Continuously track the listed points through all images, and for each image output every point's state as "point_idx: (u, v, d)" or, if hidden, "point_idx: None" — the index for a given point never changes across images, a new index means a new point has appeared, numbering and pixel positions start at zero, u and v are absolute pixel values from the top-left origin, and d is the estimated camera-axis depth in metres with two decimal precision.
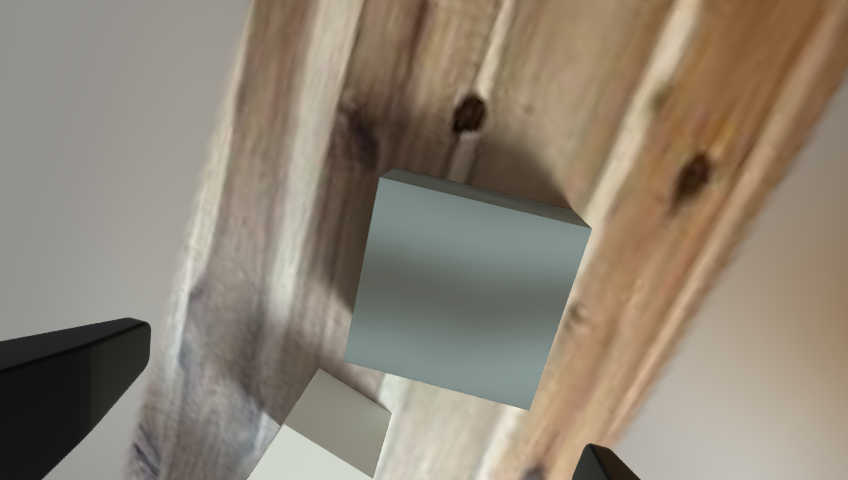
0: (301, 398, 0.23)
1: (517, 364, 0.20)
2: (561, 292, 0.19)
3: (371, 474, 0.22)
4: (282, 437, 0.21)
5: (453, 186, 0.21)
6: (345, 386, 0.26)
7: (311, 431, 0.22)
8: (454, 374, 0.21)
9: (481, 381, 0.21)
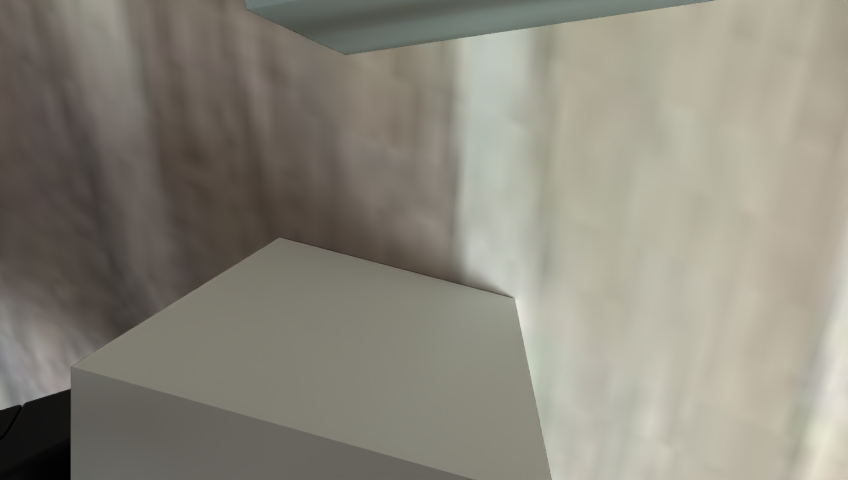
0: (198, 291, 0.07)
1: None
2: None
3: None
4: (97, 430, 0.05)
5: None
6: (362, 263, 0.09)
7: (223, 374, 0.05)
8: None
9: None
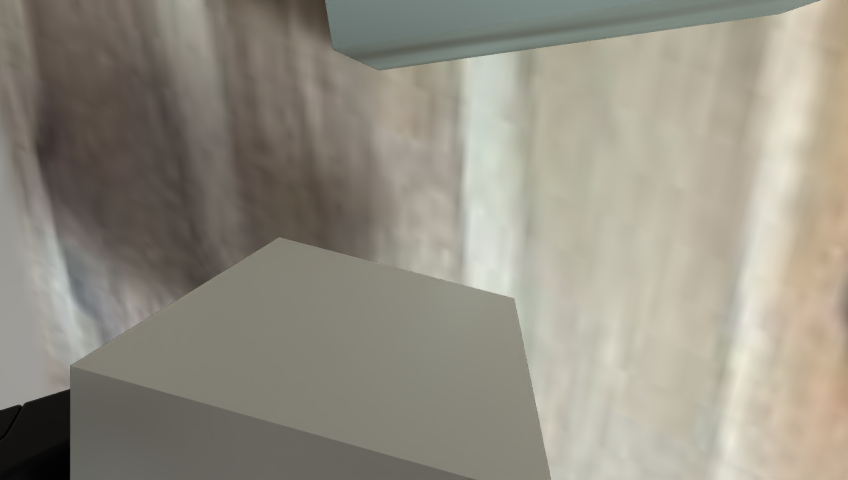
0: (198, 290, 0.07)
1: None
2: None
3: None
4: (97, 430, 0.05)
5: None
6: (362, 263, 0.09)
7: (223, 374, 0.05)
8: None
9: None
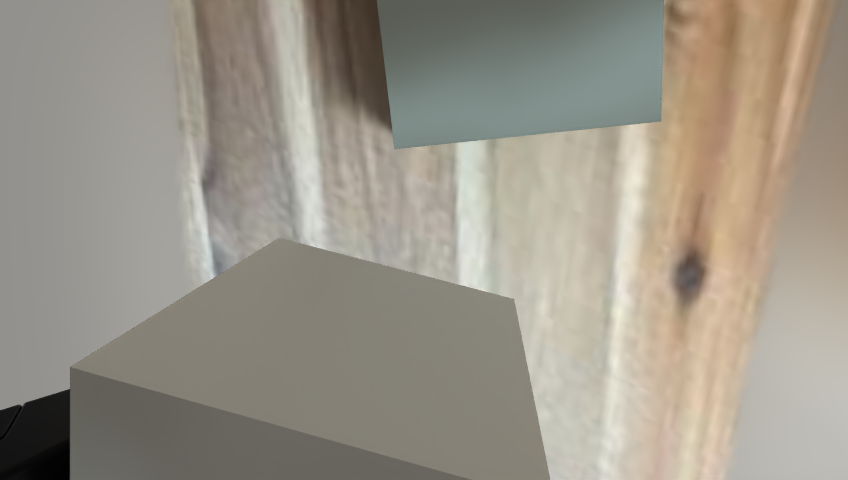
0: (197, 291, 0.07)
1: (624, 56, 0.14)
2: None
3: None
4: (96, 432, 0.05)
5: None
6: (362, 264, 0.09)
7: (222, 375, 0.05)
8: (542, 108, 0.15)
9: (582, 103, 0.15)
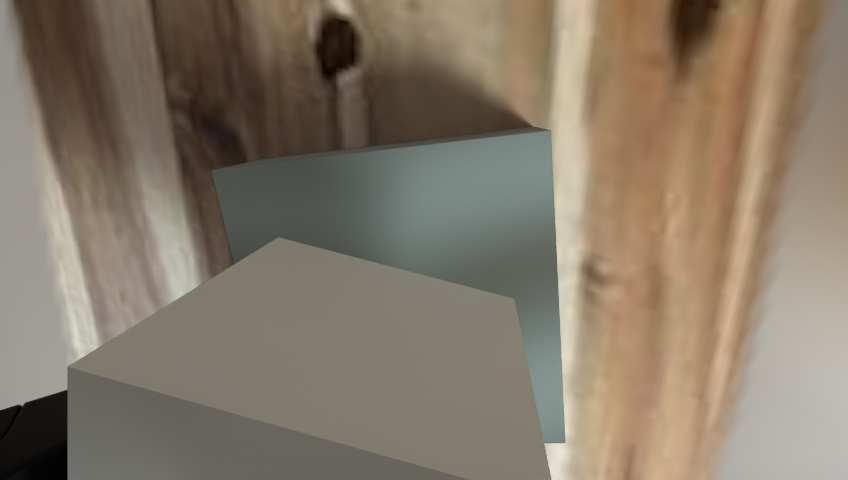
0: (196, 291, 0.06)
1: None
2: (542, 248, 0.12)
3: None
4: (95, 432, 0.05)
5: (342, 150, 0.14)
6: (362, 263, 0.09)
7: (221, 375, 0.05)
8: None
9: None
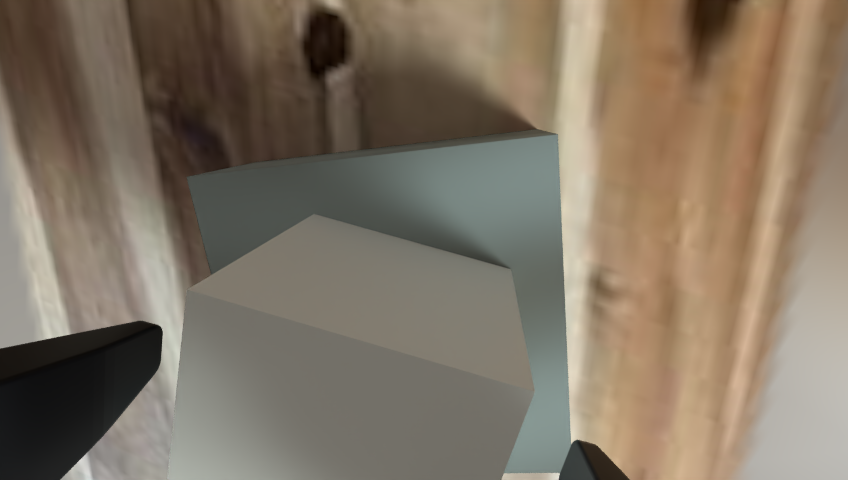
0: (260, 248, 0.08)
1: None
2: (548, 263, 0.11)
3: (524, 381, 0.06)
4: (202, 339, 0.06)
5: (331, 155, 0.13)
6: (384, 236, 0.11)
7: (292, 302, 0.07)
8: None
9: None
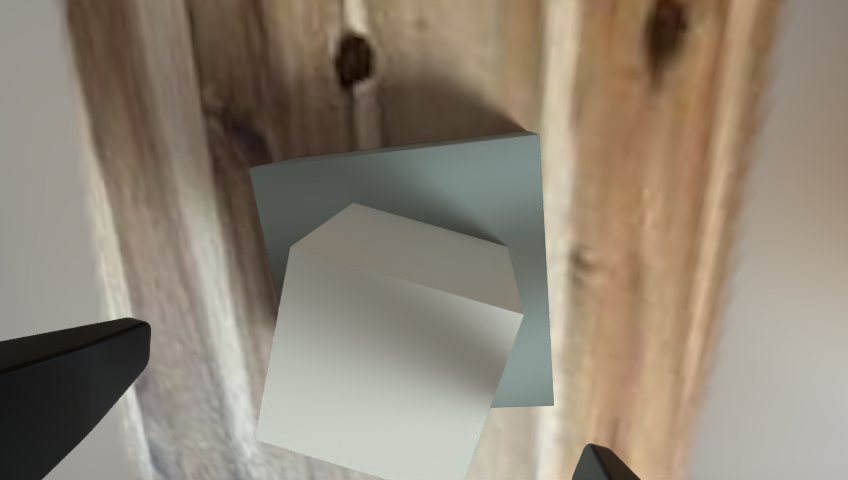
0: (325, 224, 0.11)
1: (514, 350, 0.15)
2: (533, 235, 0.14)
3: (516, 309, 0.09)
4: (298, 282, 0.10)
5: (359, 151, 0.16)
6: (409, 220, 0.14)
7: (358, 257, 0.10)
8: None
9: None
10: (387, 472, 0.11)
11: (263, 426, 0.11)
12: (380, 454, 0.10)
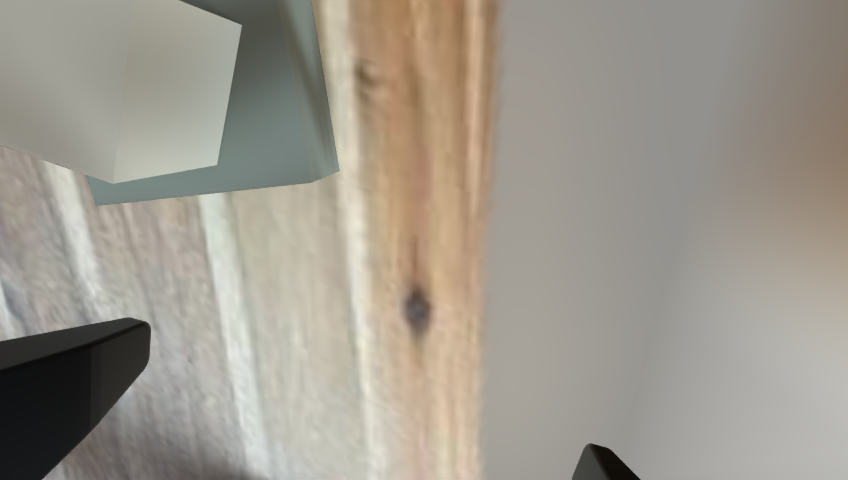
0: None
1: (269, 127, 0.16)
2: (268, 6, 0.15)
3: None
4: None
5: None
6: None
7: None
8: (211, 170, 0.17)
9: (243, 167, 0.17)
10: (52, 155, 0.12)
11: None
12: (44, 137, 0.12)
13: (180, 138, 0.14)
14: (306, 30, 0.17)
